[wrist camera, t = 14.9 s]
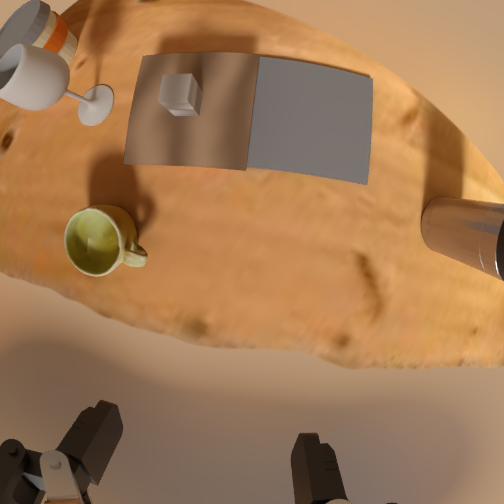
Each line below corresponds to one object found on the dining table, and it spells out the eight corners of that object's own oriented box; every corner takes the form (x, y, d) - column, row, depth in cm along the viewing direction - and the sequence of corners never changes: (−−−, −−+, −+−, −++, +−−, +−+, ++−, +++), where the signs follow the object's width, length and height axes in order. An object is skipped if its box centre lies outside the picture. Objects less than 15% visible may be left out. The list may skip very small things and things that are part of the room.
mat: (370, 80, 33) (372, 78, 32) (365, 184, 36) (367, 184, 35) (260, 58, 32) (260, 56, 32) (246, 166, 36) (246, 166, 35)
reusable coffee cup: (39, 50, 30) (-4, 29, 15) (85, 18, 29) (46, -15, 14) (36, 94, 32) (-15, 78, 18) (85, 61, 32) (36, 30, 17)
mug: (70, 249, 37) (47, 253, 27) (101, 194, 38) (85, 183, 29) (130, 289, 41) (122, 304, 31) (162, 234, 42) (162, 234, 32)
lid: (259, 57, 27) (260, 29, 20) (246, 170, 30) (243, 165, 24) (145, 58, 27) (124, 36, 20) (125, 164, 30) (98, 160, 24)
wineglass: (122, 103, 34) (35, 55, 13) (88, 136, 35) (-9, 114, 14) (103, 76, 32) (24, 26, 12) (72, 107, 33) (-16, 78, 13)
